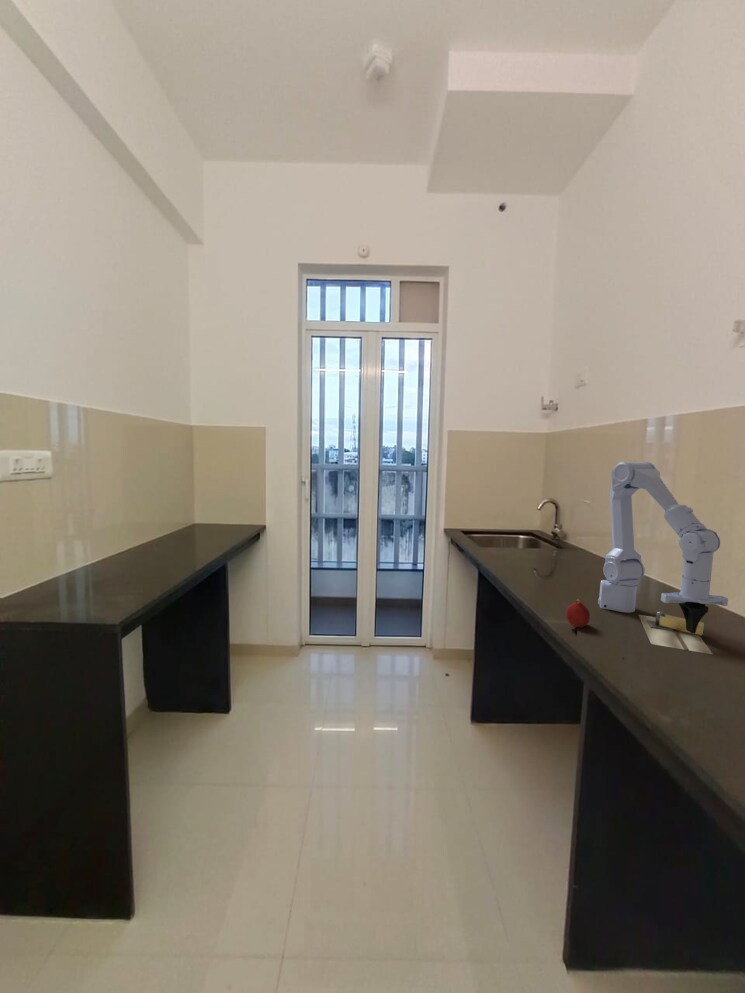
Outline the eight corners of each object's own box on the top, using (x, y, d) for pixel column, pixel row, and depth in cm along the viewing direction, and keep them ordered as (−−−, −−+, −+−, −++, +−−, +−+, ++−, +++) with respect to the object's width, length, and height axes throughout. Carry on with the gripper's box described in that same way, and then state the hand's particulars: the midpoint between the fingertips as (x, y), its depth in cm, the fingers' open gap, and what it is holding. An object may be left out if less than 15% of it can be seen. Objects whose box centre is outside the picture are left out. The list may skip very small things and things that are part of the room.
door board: (650, 648, 104) (651, 642, 104) (638, 618, 123) (638, 613, 123) (712, 659, 99) (713, 653, 99) (689, 626, 118) (689, 621, 118)
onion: (569, 622, 119) (571, 594, 118) (592, 629, 115) (594, 599, 114) (561, 628, 115) (563, 599, 114) (583, 635, 111) (586, 605, 110)
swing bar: (654, 624, 115) (655, 612, 114) (656, 622, 116) (657, 610, 116) (702, 636, 108) (703, 622, 108) (702, 633, 110) (704, 620, 109)
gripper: (675, 581, 104) (670, 636, 105) (739, 584, 102) (733, 639, 104) (658, 573, 111) (653, 625, 112) (718, 576, 109) (713, 628, 111)
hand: (690, 631), depth 108 cm, fingers closed, pressing on swing bar
